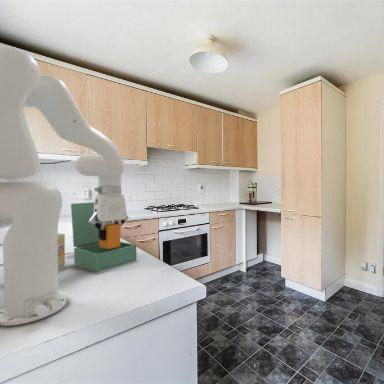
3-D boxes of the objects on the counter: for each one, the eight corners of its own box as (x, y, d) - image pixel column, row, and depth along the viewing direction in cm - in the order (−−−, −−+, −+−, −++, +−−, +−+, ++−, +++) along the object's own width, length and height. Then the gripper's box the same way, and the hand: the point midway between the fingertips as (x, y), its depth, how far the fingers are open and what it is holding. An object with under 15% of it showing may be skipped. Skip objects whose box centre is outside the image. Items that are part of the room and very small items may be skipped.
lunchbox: (136, 261, 93) (136, 244, 93) (97, 273, 80) (97, 254, 80) (113, 255, 100) (113, 240, 100) (74, 266, 87) (74, 248, 87)
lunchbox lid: (111, 201, 100) (105, 201, 102) (71, 203, 87) (66, 204, 89) (113, 239, 100) (107, 238, 102) (74, 247, 87) (68, 246, 89)
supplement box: (40, 278, 76) (39, 238, 76) (29, 276, 77) (28, 237, 77) (65, 269, 84) (65, 233, 84) (55, 268, 85) (54, 232, 85)
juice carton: (120, 246, 88) (120, 224, 88) (108, 249, 84) (108, 225, 84) (111, 244, 91) (111, 223, 91) (99, 247, 87) (99, 224, 87)
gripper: (91, 191, 78) (91, 244, 79) (136, 190, 93) (136, 235, 94) (79, 190, 82) (79, 242, 82) (125, 190, 97) (125, 234, 97)
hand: (109, 238), depth 88 cm, fingers closed on juice carton, 4 cm apart
